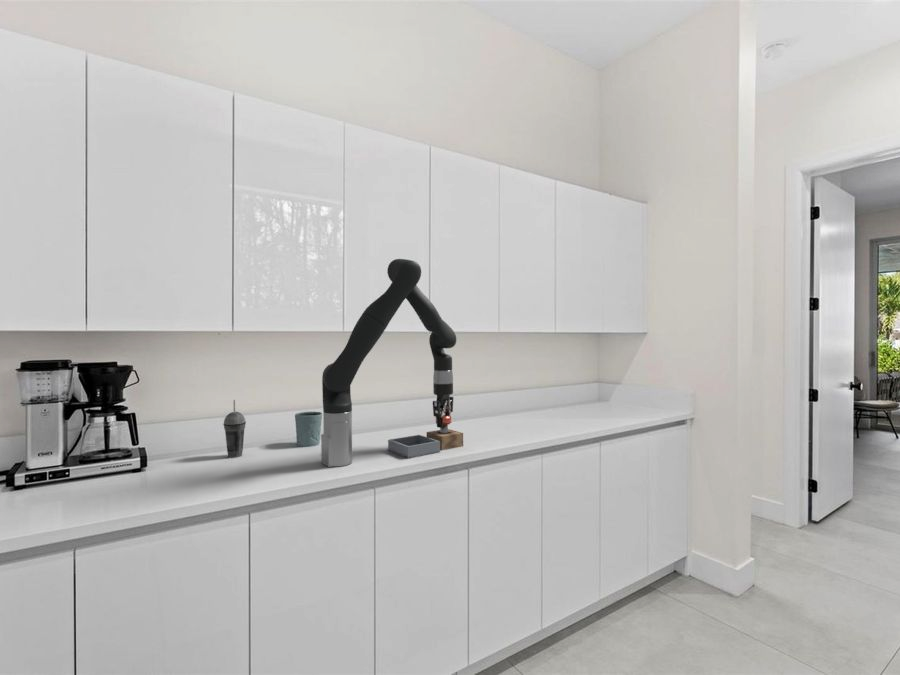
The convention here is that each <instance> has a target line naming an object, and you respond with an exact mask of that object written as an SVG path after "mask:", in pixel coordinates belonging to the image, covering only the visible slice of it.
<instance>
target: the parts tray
mask: <svg viewBox="0 0 900 675" xmlns="http://www.w3.org/2000/svg"><path fill="white" fill-rule="evenodd" d="M387 444H388V445H387V451H388V452H390V453H393V454H395V455H399V456H401V457H403V458H406V459H412V458H416V457H423V456H427V455H429V456H430V455H433V454H439V453H441V450H440V441H438V440H435V439H431V438H428V437H427V436H425V435H421V434H416V435H409V436H408V435H407V436H403V437H397V438H390V439H388V440H387Z"/></svg>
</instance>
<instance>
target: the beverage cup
mask: <svg viewBox="0 0 900 675" xmlns="http://www.w3.org/2000/svg"><path fill="white" fill-rule="evenodd" d="M246 423H247V422H246V418H245V416H244V415H243V414H242V413H241V412H238V411H236V399H233V411H231V412H230V413H228V414H227V415H226V416H225V418H224V420H223V424H222V425H223V428H224V433H225V442H226V450H227V458H229V459H233V458H240V457H242V456H243V452H244V440H245V439H244V437H245V429H246Z"/></svg>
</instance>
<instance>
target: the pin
mask: <svg viewBox="0 0 900 675" xmlns="http://www.w3.org/2000/svg"><path fill="white" fill-rule="evenodd" d="M442 418H443V427H441V428H439V430H440V433H441V434H448V429H449V426H448V425H450V424H451V423H452V415H451V414H450V415H445V414H443V417H442ZM449 423H450V424H449ZM435 424H436V425H437V417H435Z"/></svg>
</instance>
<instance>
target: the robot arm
mask: <svg viewBox="0 0 900 675" xmlns="http://www.w3.org/2000/svg"><path fill="white" fill-rule="evenodd" d="M386 272H387V277H388V278H389V280H390V281H391V283H390V285H389V286H388V288H387V289H386V291H385V292H383V293H382V294H381V295H380V296H379V297H377V298H376V299H375V300H374V301H373V302H371V303H370V304H369V305H368V306H367V307H366V308H365V310H364V311H363V312H362V313H361V315H360V316H359V318H358V320H357V321H356V324H355V325H354V327H353V329H352V331H351V333H350V334H349V338H348V339H347V343H346V345H345V347H344V348H343V350H342V351H341V353H340V354H339V355H338V357H337V358H336V359H335V360H334V362H332V363H330V364H328V365H327V366H326V367H325V368H324V370H323V371H322V377H321V378H322V379H321V383H322V384H321V388H322V406H323V407H322V408H323V409H322V411H323V413H322V418H323V419H322V420H323V421H322V422H323V434H320V443H321V444H320V447H321V450H320V451H321V452H320V455H321V460H320V461H321V464H323V465H324V466H326V467H328V468H331V467H342V466H343V467H344V466H348V465H350V464H352V463H353V413H352V412H353V407H352V405H353V403H352V398H351V397H352V396H351V385H352V383H353V381H354V379H355V377H356V375H357V373H358V371H359V370H360V367H361V365H362V363H363V362H364V360H365V359H366V357H367V356H368V354H369V353H371V351H372V350H373V348H374V347H375V345H376V344H377V342H378V341H379V339H380V338H381V337H382V335H383V334H384V332H385V330H386V329H387V328H388V326H389V324H390V322H391V321H392V319H393V318H394V316H395V315H396V313H397V311H398V310H399V308H400V307H401V305H402V303H403V302H404V301H405V299H406V301H407V302H408V303H409V304H410V306H411V307H412V309H413V311H414V312H415V313H416V315H417V316H418V319H419V320H420V322H421V323H422V324H423V326H424V329H425V330H426V331H428V332H430V333H431V334H430V335H429V340H428V343H429V347H430V350H431V351H430V352H431V354H432V358H433V378H432V379H433V382H432V383H433V384H432V385H433V391H432V392H433V395H435V396H436V400H433V401H432V411H433V417H434V418H436V417H437V424H436V427H437V428H439V429H440V428H441V427H443V418H442V417H443V415H451V414H452V413H453V411H454V396H452V395H453V394H454V373H453V357H452V355H450V354H448V353H446V352H445V350H444V349H452V348H454V347H455V346H456V344H457V335H456V332H455V331H454V330H453V328H452V327H451V326H450V325H449V324H448V323H447V322H446V321H444V320H443V318H442V317H441V314H439V311H438V309H437V308H436V306H435V305H434V303H432V302H431V301H430V299H429V298H428V297H427V296H426V295H425V294H424V293H423V292H422V290H420V288H419V287H418V285H417V284H418V283H419V281H420V279H421V277H422V268H421V265H420V264H419V263H418V262H417V261H415V260H411V259H405V258H396V259H393V260H392V261H390V262H389V264H388V267H387V271H386ZM450 424H451V423H449V424H448V425H450Z"/></svg>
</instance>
